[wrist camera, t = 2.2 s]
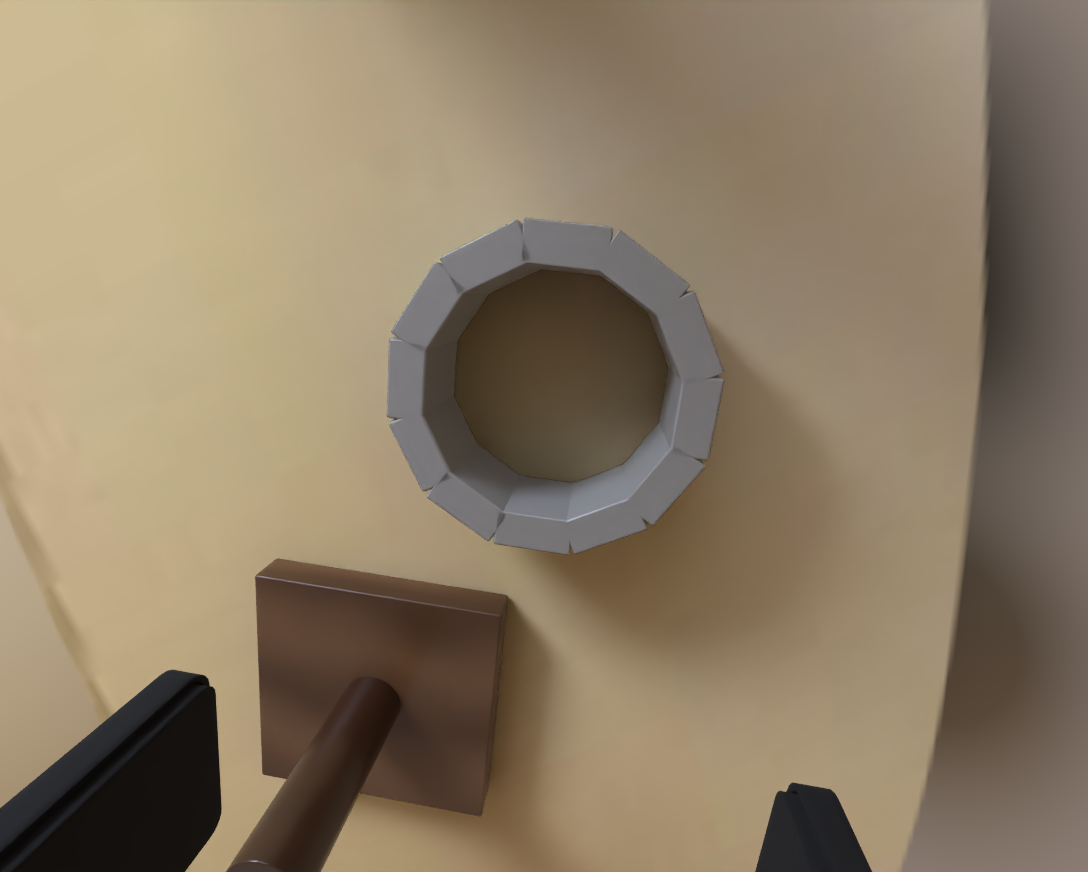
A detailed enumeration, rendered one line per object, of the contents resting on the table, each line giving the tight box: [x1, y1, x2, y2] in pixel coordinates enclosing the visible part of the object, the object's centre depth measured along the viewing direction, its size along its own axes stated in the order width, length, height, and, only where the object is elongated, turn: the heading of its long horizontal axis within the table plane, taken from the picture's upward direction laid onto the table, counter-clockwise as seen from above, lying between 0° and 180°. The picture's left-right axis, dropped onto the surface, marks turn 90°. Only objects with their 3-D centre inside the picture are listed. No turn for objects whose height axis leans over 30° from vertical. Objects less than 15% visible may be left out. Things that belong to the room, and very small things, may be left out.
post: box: [226, 559, 508, 872], centre depth 20 cm, size 10×10×9 cm
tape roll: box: [387, 218, 724, 555], centre depth 18 cm, size 10×10×4 cm
